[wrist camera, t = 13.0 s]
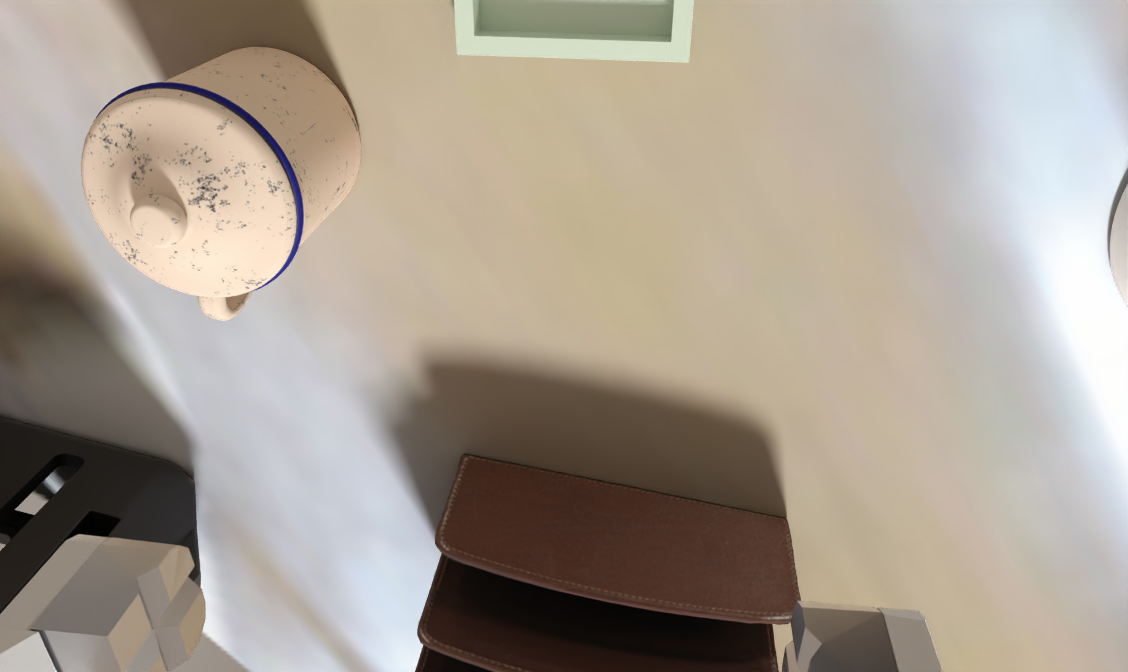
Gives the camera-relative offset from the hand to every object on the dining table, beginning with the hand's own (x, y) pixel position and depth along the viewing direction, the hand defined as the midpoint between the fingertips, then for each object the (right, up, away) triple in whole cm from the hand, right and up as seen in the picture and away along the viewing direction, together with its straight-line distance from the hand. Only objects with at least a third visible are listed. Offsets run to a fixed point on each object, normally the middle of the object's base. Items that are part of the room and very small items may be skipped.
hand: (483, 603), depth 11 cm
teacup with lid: (-13, +12, +31) cm, 36 cm away
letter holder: (+4, -9, +42) cm, 43 cm away
